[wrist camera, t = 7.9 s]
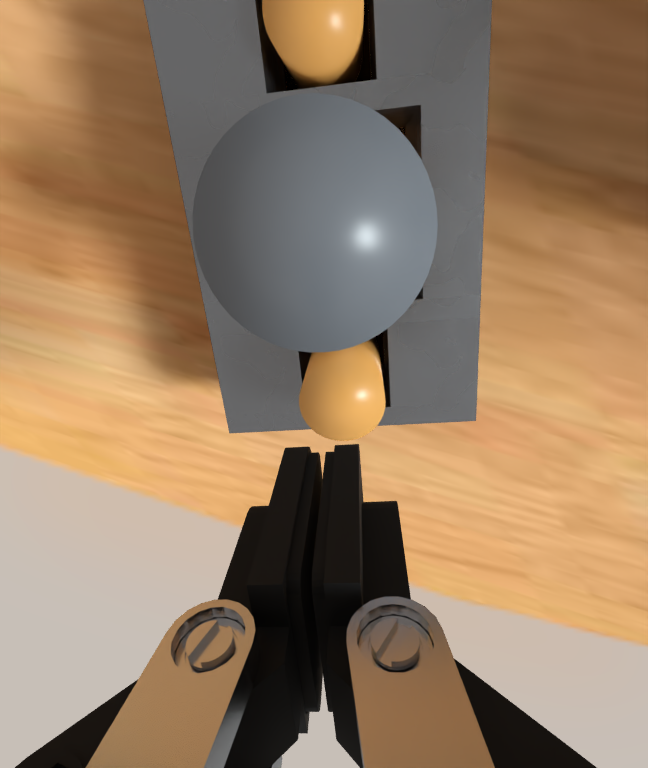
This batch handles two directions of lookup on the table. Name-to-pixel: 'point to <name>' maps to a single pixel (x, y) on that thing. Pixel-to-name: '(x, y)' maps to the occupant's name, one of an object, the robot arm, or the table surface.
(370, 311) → the ball
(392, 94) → the housing
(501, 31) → the table surface
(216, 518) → the table surface
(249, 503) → the table surface
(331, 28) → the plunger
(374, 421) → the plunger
